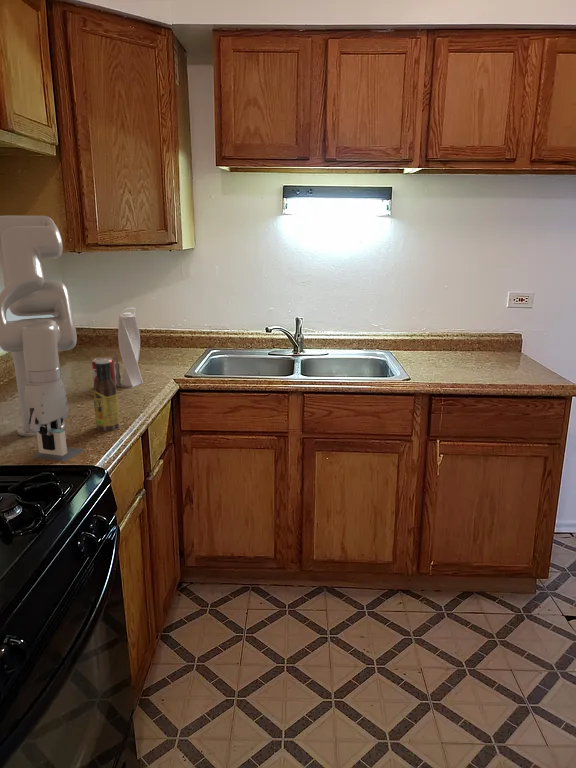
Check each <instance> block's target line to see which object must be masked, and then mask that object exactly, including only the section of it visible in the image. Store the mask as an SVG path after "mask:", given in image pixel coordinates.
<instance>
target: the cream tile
mask: <svg viewBox="0 0 576 768" xmlns="http://www.w3.org/2000/svg"><path fill="white" fill-rule="evenodd" d="M36 432H37V431H36ZM51 434H53V435H54V443H55V450H46V449H43V444H42V436H41V435H40V434H39V432H37V436H36V439H37V447H38V448H37V449H38V453H46V454H53V455H60V456H63V455H65V454H67V447H68V446H67V441H66V440H67V439H66V437H67V436H66V430H65V429H53V428H51Z"/></svg>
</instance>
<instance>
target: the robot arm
mask: <svg viewBox="0 0 576 768" xmlns="http://www.w3.org/2000/svg"><path fill="white" fill-rule="evenodd" d="M63 248H64V247H63V240H62V236H61V233H60V230H59V228H58V226H57V225H56V224H55V222H54V220H53V218H51V216H50V217H49V216H47V215H18V214H17V215H0V269H1V273H2V280H3V285H4V288H3V289H2V290H1V292H0V349H1V350H3V351H4V352H6V353H7V352H8V353H11V356H12V361H13V365H14V371H15V373H14V374H15V379H16V385H17V386H16V387H17V393H18V401H19V409H20V415H21V416H20V417H21V424H20V425H18V427H17V428H16V433H17V435H19V436H22V437H25V438H26V437H30V436H31V437H37V432H39V434H40V435H41V436H42V444H43V449H46V450H55V443H54V435H53V434H51V428H53V429H62V430H64V428H65V427H66V423H65V420H66V418H67V417H68V414H69V412H70V410H69V409H68V408H69V407H68V399H67V392H66V389H65V385H64V381H63V378H62V377H61V376H62V375H61V366H60V358H59V352H65V351H70V350H72V349H74V348H76V345H77V342H78V339H77V338H78V337H77V329H76V324H75V320H74V319H75V318H74V313H73V309H72V303H71V298H70V293H69V291H68V288H67V287H66V285H65V283H63V282H62V281H59V280H45V275H44V271H43V265H42V262H41V260H42V259H43V260H45V259H46V260H49V259H52V260H53V259H58V258H60V257H61V256H62V254H63ZM8 309H9V311H10V313H11V314H12V315H14V316H16V317H17V316H18V317H33V318H22V319H17V320H9V321H8V319H7V312H8V311H7V310H8ZM39 316H49V317H39ZM50 316H52V317H50ZM36 431H37V432H36Z"/></svg>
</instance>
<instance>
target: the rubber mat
mask: <svg viewBox="0 0 576 768" xmlns="http://www.w3.org/2000/svg"><path fill="white" fill-rule="evenodd" d="M84 451H85V449H83V448H76V447H69V446H67V454H65V455H63V456H60V455H53V454H46V453H39V452H37V453H35V454H33V455H31V457H32V458H37V459H38V458H39V459H44V460H51V461H52V460H53V461H57V462H66V461H68V460H70V459H72V458H74V457H75V456H77V455H79V454H81V453H82V452H84Z"/></svg>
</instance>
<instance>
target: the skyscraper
mask: <svg viewBox="0 0 576 768" xmlns="http://www.w3.org/2000/svg"><path fill="white" fill-rule="evenodd" d="M127 310H134V311H133V313H132V312H125V311H127ZM136 311H137V308H136V307H127V308H124V309H122V310H121V311H120V313H119V315H118V329H117V331H118V332H117V337H118V338H117V341H118V349H119V352H120V357H121V360H122V363H123V374H122V377H121V373H120V363H119V361H118V359H119V357H118V355H117V354H118V353H117V351H116V352H115V363H114V369H115V381H116V387H118V388H119V387H120V388H126V389H132V388H135V387H137V386H141V385H143V384H144V381H143V378H142V375H141V374H142V373H141V371H140V368H139V367H140V366H139V364H138V363H139V359H140V351H141V337H140V335H141V333H140V329H139V323H138V321H137V320H138V319H137V315H136ZM121 379H122V380H121ZM121 381H122V382H121Z"/></svg>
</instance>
